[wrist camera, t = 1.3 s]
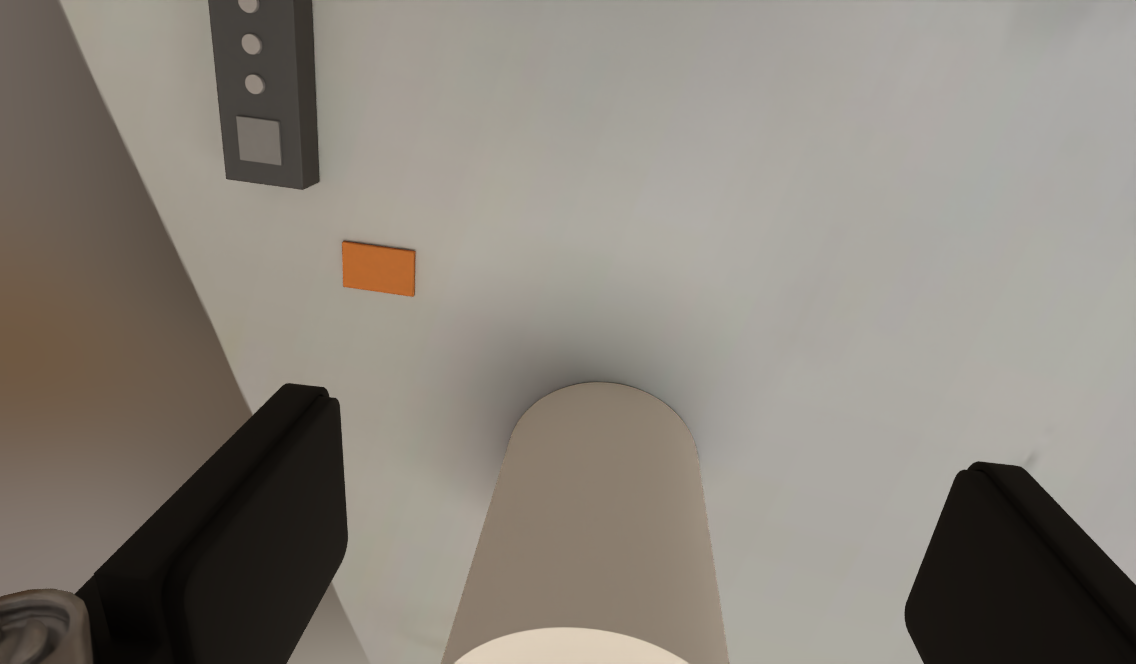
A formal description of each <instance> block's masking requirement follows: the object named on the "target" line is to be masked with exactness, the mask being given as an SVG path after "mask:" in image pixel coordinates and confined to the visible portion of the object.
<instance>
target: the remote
mask: <svg viewBox="0 0 1136 664" xmlns="http://www.w3.org/2000/svg"><path fill="white" fill-rule="evenodd" d="M208 3H209V13H210V22H211V32H212V42H213V52H214V62H215V72H216V82H217V92H218V102H219V112H220V122H221V132H222V141H223V151H224V161H225V171H226V179H229V180H237V181H244V182H251V183H258V184H265V185H273V186H280V187H287V188H294V189H301V190H303V189H305V188H308V187H310V186H312V185H314V184H316V183H318V182H319V164H318V140H317V116H316V92H315V68H314V44H313V21H312V0H208Z"/></svg>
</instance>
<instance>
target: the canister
mask: <svg viewBox="0 0 1136 664" xmlns="http://www.w3.org/2000/svg"><path fill="white" fill-rule="evenodd" d="M441 664H729V657H728V651H727V644H726V637H725V631H724V624H723V618H722V611H721V605H720V598H719V591H718V585H717V578H716V572H715V565H714V559H713V552H712V545H711V539H710V532H709V526H708V519H707V513H706V506H705V499H704V493H703V486H702V480H701V473H700V466H699V460H698V453H697V449H696V445H695V442H694V440H693V437H692V435H691V433H690V431H689V429H688V428H687V426H686V425H685V423H684V422H683V421H682V419H681V418H680V417H679V416H678V415H677V414H676V413H675V412H674V411H673V410H672V409H671V408H670V407H669V406H667V405H666V404H665V403H663V402H662V401H661V400H659V399H657V398H656V397H654V396H652V395H650V394H648V393H646V392H644V391H642V390H639V389H636V388H633V387H630V386H626V385H621V384H616V383H606V382H591V383H582V384H576V385H572V386H568V387H565V388H562V389H559V390H557V391H554V392H552V393H550V394H548V395H546V396H545V397H543V398H542V399H540V400H539V401H537V402H536V403H535V404H533V405H532V406H531V407H530V408H529V409H528V410H527V411H526V412H525V413H524V414H523V416H522V417H521V418H520V420H519V421H518V423H517V424H516V426H515V428H514V430H513V432H512V435H511V437H510V441H509V444H508V447H507V450H506V454H505V457H504V460H503V463H502V467H501V470H500V473H499V476H498V480H497V483H496V486H495V489H494V493H493V496H492V499H491V502H490V506H489V509H488V512H487V515H486V519H485V522H484V525H483V528H482V532H481V535H480V538H479V542H478V545H477V548H476V551H475V555H474V558H473V561H472V564H471V568H470V571H469V574H468V577H467V581H466V584H465V587H464V590H463V594H462V597H461V600H460V603H459V607H458V610H457V613H456V616H455V620H454V623H453V626H452V629H451V633H450V636H449V639H448V642H447V646H446V649H445V652H444V655H443V659H442V662H441Z"/></svg>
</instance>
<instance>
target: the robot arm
mask: <svg viewBox="0 0 1136 664" xmlns="http://www.w3.org/2000/svg"><path fill="white" fill-rule="evenodd" d="M347 542H348V530H347V514H346V497H345V481H344V465H343V448H342V432H341V416H340V405H339V401H338V400H337V399H336V398H331V397H329V393H328V391H327V389H325V388H324V387H317V386H308V385H300V384H291V383H288V384H285V385H283V386H282V387H281V388H280V389H279V390H278V391H277V392H276V393H275V394H274V395H273V396H272V397H271V398H270V399H269V400H268V401H267V402H266V403H265V404H264V405H263V406H262V407H261V408H260V409H259V410H258V411H257V412H256V413H255V414H254V415H253V416H252V417H251V418H250V419H249V420H248V421H247V422H246V423H245V424H244V425H243V426H242V427H241V428H240V429H239V430H238V431H237V432H236V433H235V434H234V435H233V436H232V437H231V438H230V439H229V440H228V441H227V442H226V443H225V444H224V445H223V446H222V447H221V448H220V449H219V450H218V451H217V452H216V453H215V454H214V455H213V456H212V457H210V458H209V460H208V461H206V463H204V465H202V467H200V468H199V470H197V471H196V472H195V473H194V474H193V475H192V477H191V478H189V479H188V480H187V481H186V482H185V483H184V484H183V485H182V487H180V488H179V490H178V491H176V492H175V493H174V494H173V495H172V496H171V497H170V498H169V499H168V500H167V501H166V502H165V503H164V504H163V505H162V506H161V507H160V508H159V509H158V510H157V511H156V512H155V513H154V514H153V515H152V516H151V517H150V518H149V519H148V520H147V521H146V522H145V523H144V524H143V525H142V526H141V527H140V528H139V529H138V530H137V531H136V532H135V533H134V534H133V535H132V536H131V537H130V538H129V539H128V540H127V541H126V542H125V543H124V544H123V545H122V546H121V547H120V548H119V549H118V550H117V551H116V552H115V553H114V554H113V555H112V556H111V557H110V558H109V559H108V560H107V561H106V562H105V563H104V564H103V565H102V566H101V567H100V568H99V569H98V570H97V571H96V572H95V573H94V575H93V576H92V577H91V578H90V580H88V581H87V582H86V583H85V584H84V585H83V587H81V588H80V589H79V590H78V591H77V592H76V593H75V594H73V593H71V592H67V591H62V590H57V589H32V590H26V591H21V592H17V593H13V594H8V595H4V596H1V597H0V664H286V663H287V662H288V660H289V658H290V656H291V654H292V652H293V651H294V649H295V647H296V645H297V643H298V641H299V639H300V638H301V636H302V634H303V632H304V630H305V629H306V627H307V625H308V623H309V621H310V619H311V617H312V615H313V614H314V612H315V610H316V608H317V607H318V604H319V603H320V601H321V599H322V597H323V595H324V594H325V592H326V590H327V588H328V586H329V584H330V583H331V581H332V579H333V577H334V575H335V574H336V572H337V570H338V568H339V566H340V564H341V563H342V560H343V558H344V555H345V552H346V548H347ZM905 622H906V627H907V630H908V632H909V634H910V636H911V638H912V640H913V642H914V644H915V646H916V648H917V650H918V653H919V655H920V657H921V659H922V661H923V663H924V664H1136V585H1135V584H1134V583H1133V582H1132V581H1131V580H1130V579H1129V578H1128V576H1127V575H1126V574H1125V573H1124V572H1123V571H1122V570H1121V569H1120V568H1119V567H1118V566H1117V565H1116V564H1115V563H1114V562H1113V561H1112V560H1111V559H1110V558H1109V557H1108V556H1107V555H1106V553H1105V552H1104V551H1103V550H1102V549H1101V548H1100V547H1099V546H1098V545H1097V544H1096V543H1095V542H1094V541H1093V540H1092V539H1091V538H1090V537H1089V536H1088V535H1087V534H1086V533H1085V532H1084V530H1083V529H1082V528H1081V527H1080V526H1079V525H1078V524H1077V523H1076V522H1075V521H1074V520H1073V519H1072V518H1071V517H1070V516H1069V515H1068V514H1067V513H1066V512H1065V511H1064V510H1063V509H1062V508H1061V506H1060V505H1059V504H1058V503H1057V502H1056V501H1055V500H1054V499H1053V498H1052V497H1051V496H1050V495H1049V494H1048V493H1047V492H1046V491H1045V490H1044V489H1043V488H1042V487H1041V486H1040V485H1039V483H1038V482H1037V481H1036V480H1035V479H1034V478H1033V477H1032V476H1031V475H1030V474H1029V473H1028V472H1027V471H1026V470H1025V469H1023V468H1022V467H1019V466H1014V465H1005V464H996V463H988V462H979V461H978V462H975V463H973V464H972V465H971V466H970V467H969V468H968V470H961V471H960V472H959V473H958V474H957V475H956V477H955V479H954V482H953V484H952V487H951V489H950V492H949V494H948V497H947V500H946V502H945V505H944V507H943V510H942V512H941V515H940V517H939V520H938V523H937V525H936V528H935V530H934V533H933V535H932V538H931V541H930V543H929V546H928V548H927V551H926V553H925V556H924V559H923V561H922V564H921V566H920V569H919V571H918V574H917V577H916V579H915V582H914V584H913V587H912V589H911V592H910V595H909V597H908V600H907V602H906V606H905Z"/></svg>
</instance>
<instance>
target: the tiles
mask: <svg viewBox="0 0 1136 664" xmlns="http://www.w3.org/2000/svg"><path fill="white" fill-rule="evenodd" d="M342 258H343V287H349V288H356V289H363V290H370V291H377V292H384V293H391V294H398V295H405V296H412V297H413V296H414V292H415V251H411V250H404V249H397V248H389V247H382V246H375V245H368V244H361V243H354V242H347V241H343V242H342Z"/></svg>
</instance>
